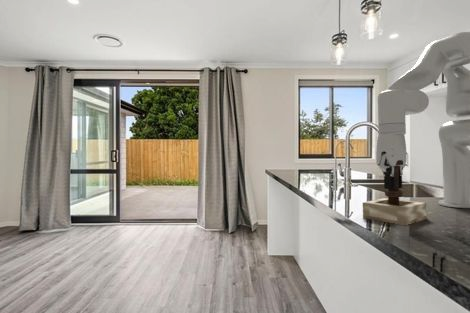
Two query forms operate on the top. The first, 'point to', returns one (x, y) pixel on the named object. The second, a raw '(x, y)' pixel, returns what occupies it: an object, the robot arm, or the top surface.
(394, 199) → the bolt
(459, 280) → the top surface
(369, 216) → the socket block
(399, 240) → the top surface
